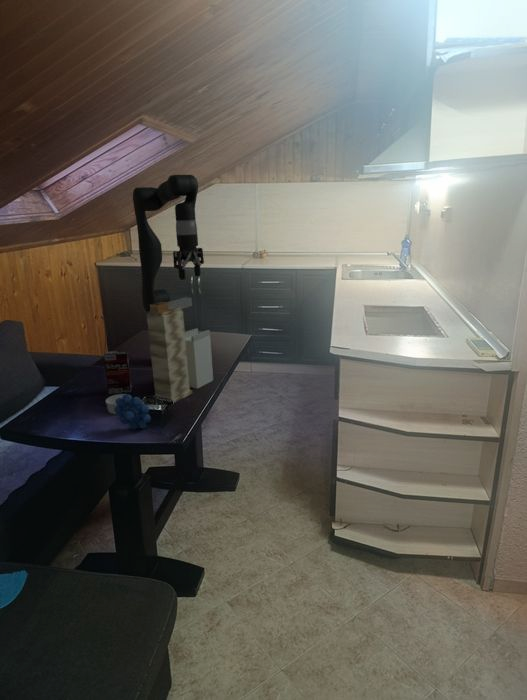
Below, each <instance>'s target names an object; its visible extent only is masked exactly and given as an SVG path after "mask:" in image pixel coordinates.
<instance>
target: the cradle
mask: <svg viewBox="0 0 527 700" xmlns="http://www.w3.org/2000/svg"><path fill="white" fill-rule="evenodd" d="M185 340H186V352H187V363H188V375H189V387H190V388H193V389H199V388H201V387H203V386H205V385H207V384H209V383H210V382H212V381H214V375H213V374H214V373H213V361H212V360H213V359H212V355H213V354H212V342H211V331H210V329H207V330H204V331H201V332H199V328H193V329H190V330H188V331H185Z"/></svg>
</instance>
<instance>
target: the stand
mask: <svg viewBox="0 0 527 700" xmlns="http://www.w3.org/2000/svg"><path fill="white" fill-rule="evenodd" d="M159 314H160V316H154V315H151V311H150V312H147V314H146V320H147V323H146V324H147V329H148V341H149V350H151V352H150V360H151V359H152V361H151V366H152V376H153V384H154V386H153V387H154V395H153V396H152V398H153V397H159V398H167V399H172V401H173V404H175V403H177V402H179V401H181V400H182V398H183V399H184V398H186V397H189V396H190V395H192V394H193V389H191V387H189V375H188V363H187V352H186V340H185V332H186V331H185V317H184V310H182V309H181V308H176V309H173V310H169V311H166V312H163V313H159ZM180 399H181V400H180ZM178 400H179V401H178ZM176 401H177V402H176ZM174 402H175V403H174Z"/></svg>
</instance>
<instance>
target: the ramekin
mask: <svg viewBox="0 0 527 700" xmlns="http://www.w3.org/2000/svg"><path fill="white" fill-rule="evenodd" d="M125 394H126V393H116V394H113V395H111V396H109V397H107V398H106V399H105V404H106V408H107V411H108V413H109V412H110V413H109V414H111V413H113V414H112V415H117V414H116V413H115V411H114V409H115V407H117V404H116V399H118V398H122V397H123V395H125ZM129 395H130V394H129ZM130 396H131V397H132V395H130ZM132 398H133V397H132ZM122 399H123V398H122Z"/></svg>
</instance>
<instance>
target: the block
mask: <svg viewBox="0 0 527 700" xmlns="http://www.w3.org/2000/svg"><path fill="white" fill-rule="evenodd" d="M189 307H193V301H192V297H187V296H184V297H181V298H177V299H174V300H170V302H157V303H153V304H150V311H151V315H154V316H160V314H159V313H163V312H166V311H169V310H173V309H176V308H181V310H183V309H187V308H189Z"/></svg>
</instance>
